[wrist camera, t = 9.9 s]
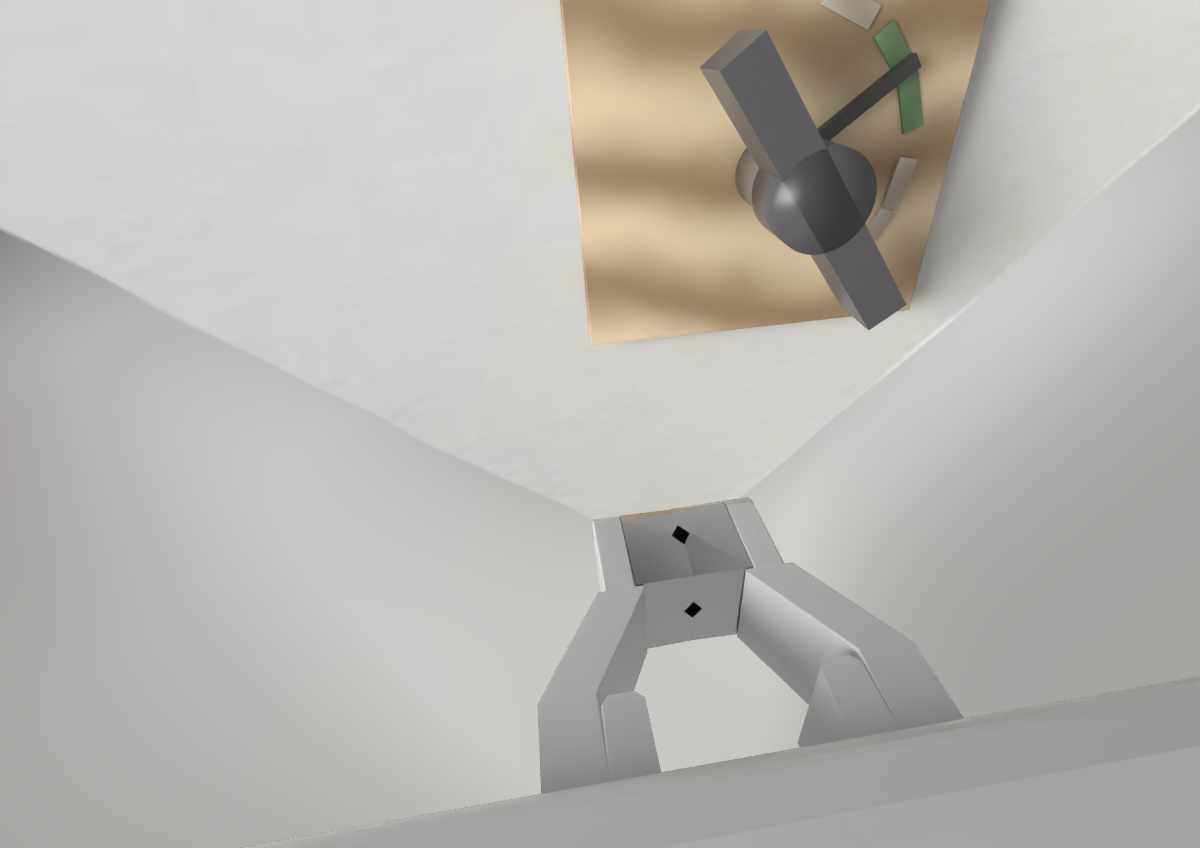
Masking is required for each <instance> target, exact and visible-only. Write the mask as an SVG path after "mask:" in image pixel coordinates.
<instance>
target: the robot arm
mask: <svg viewBox="0 0 1200 848" xmlns="http://www.w3.org/2000/svg"><path fill="white" fill-rule="evenodd" d="M592 526H593V536H594V545H595V555H596V563H597V572H598V580H599V588H600V592H598V593H596V594H595V596H594V598H593V599H592V601H591V603H590V605H589V607H588V609H587V611H586V613H585V615H584V617H583V619H582V621H581V622H580V624H579V626H578V628H577V630H576V632H575V634H574V636H573V638H572V640H571V642H570V644H569V646H568V647H567V649H566V651H565V653H564V655H563V657H562V659H561V661H560V663H559V665H558V666H557V669H556V670H555V672H554V674H553V676H552V678H551V680H550V682H549V684H548V686H547V687H546V690H545V691H544V693H543V695H542V697H541V699H540V701H539V703H538V725H539V751H540V772H541V774H540V776H541V794H538V795H533V796H528V797H522V798H516V799H510V800H505V801H499V802H493V803H488V804H483V805H477V806H471V807H466V808H460V809H454V810H449V811H443V812H438V813H432V814H427V815H421V816H415V817H410V818H405V819H399V820H393V821H387V822H382V823H376V824H371V825H365V826H359V827H354V828H348V829H343V830H337V831H331V832H326V833H320V834H315V835H309V836H303V837H298V838H292V839H287V840H281V841H276V842H270V843H264V844H259V845H254V846H248V847H242V848H1200V676H1199V677H1193V678H1188V679H1182V680H1177V681H1171V682H1165V683H1160V684H1154V685H1149V686H1143V687H1137V688H1132V689H1126V690H1121V691H1115V692H1109V693H1105V694H1098V695H1093V696H1087V697H1082V698H1076V699H1070V700H1065V701H1059V702H1054V703H1048V704H1043V705H1037V706H1031V707H1026V708H1020V709H1014V710H1009V711H1003V712H997V713H992V714H986V715H981V716H975V717H969V718H964V717H963V716H962V714H961V713H960V711H959V710H958V708H957V707H956V705H955V704H954V702H953V701H952V699H951V697H950V696H949V694H948V693H947V691H946V690H945V688H944V687H943V685H942V684H941V682H940V680H939V679H938V677H937V676H936V674H935V673H934V671H933V670H932V668H931V667H930V665H929V664H928V662H927V660H926V659H925V657H924V656H923V654H922V653H921V651H920V650H919V648H918V647H917V645H916V644H915V642H913V641H912V640H910V639H909V638H908V637H906V636H904V635H903V634H901V633H900V632H898V631H897V630H895V629H894V628H892V627H891V626H889V625H888V624H886V623H884V622H883V621H881V620H880V619H878V618H877V617H875V616H874V615H872V614H871V613H869V612H868V611H866V610H865V609H863V608H862V607H860V606H858V605H857V604H855V603H854V602H852V601H851V600H849V599H848V598H846V597H844V596H843V595H841V594H840V593H839V592H837V591H835V590H834V589H832V588H831V587H829V586H828V585H826V584H825V583H823V582H822V581H820V580H819V579H817V578H815V577H814V576H812V575H811V574H809V573H808V572H806V571H805V570H803V569H802V568H800V567H799V566H797V565H796V564H794V563H792V562H791V563H784V562H783V560H782V558H781V556H780V554H779V552H778V550H777V548H776V546H775V544H774V542H773V540H772V538H771V537H770V535H769V533H768V531H767V529H766V527H765V525H764V523H763V521H762V519H761V517H760V515H759V513H758V511H757V509H756V507H755V506H754V503H753V502H752V500H751V499H749V498H748V497H746V498H739V499H733V500H726V501H722V502H720V501H719V502H713V503H707V504H700V505H694V506H688V507H681V508H675V509H670V510H664V511H656V512H648V513H640V514H632V515H623V516H619V517H611V518H603V519H595V520H592ZM733 634H737V637H738V638H740V640H742V641H743V642H744V643H745V644H746V645H747V646H748V647H749V648H750V649H751V650H752V651H753V652H754V653H755V654H756V655H757V656H758V657H759V658H760V659H761V660H762V661H764V662H765V663H766V664H767V665H768V666H769V667H770V668H771V669H772V670H773V671H774V672H775V673H776V674H777V675H778V676H779V677H780V678H781V679H783V681H784V682H786V683H787V684H788V685H789V686H790V687H791V688H792V689H793V690H794V691H795V692H796V693H797V694H798V695H799V696H800V697H801V698H802V699H804V701H805V702H806V703H808V704H809V708H808V711H807V714H806V718H805V721H804V724H803V727H802V731H801V734H800V737H799V740H798V744H799V747H800V748H795V749H790V750H784V751H779V752H773V753H767V754H762V755H756V756H750V757H745V758H739V759H734V760H729V761H723V762H717V763H712V764H706V765H700V766H695V767H689V768H683V769H678V770H672V771H667V772H661V770H660V765H659V761H658V756H657V752H656V747H655V742H654V737H653V733H652V728H651V723H650V719H649V714H648V709H647V705H646V700H645V697H643V696H642V695H640V694H639V693H637V692H635V691H634V688H635V685H636V683H637V680H638V677H639V674H640V671H641V668H642V665H643V662H644V660H645V657H646V654H647V649H648V648H653V647H658V646H663V645H668V644H674V643H679V642H684V641H689V640H696V639H703V638H710V637H718V636H726V635H733Z"/></svg>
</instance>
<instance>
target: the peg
mask: <svg viewBox="0 0 1200 848" xmlns="http://www.w3.org/2000/svg"><path fill="white" fill-rule="evenodd" d="M921 67H922V66H921V63H920V61H919V58H918V55H917V53H909V54H908V55H907V56H906V57H905V58H903V59H902V60H901V61H900V62H898V63H897V64H896V65H895V66H894V67H892V68H891V69H890V70H889V71H887V72H886V73H885V74H884V75H883V76H881V77H880V78H879V79H878V80H876V81H875V82H874V83H873V84H871V85H870V86H869V87H868V88H867V89H865V90H864V91H863V92H862V93H860V94H859V95H858V96H857V97H856V98H854V99H853V100H852V101H851V102H849V103H848V104H847V105H846V106H845V107H843V108H842V109H841V110H840V111H838V112H837V113H836V114H835V115H833V116H832V117H831V118H830V119H829V120H827V121H826V122H825V123H824V124H822V125H821V126H820V127H819V128H818V129H817V128H816V126H815V124H814V122H813V120H812V118H811V116H810V114H809V112H808V110H807V108H806V106H805V104H804V102H803V100H802V99H801V97H800V95H799V93H798V91H797V89H796V87H795V85H794V83H793V81H792V79H791V77H790V75H789V73H788V71H787V69H786V67H785V65H784V63H783V61H782V59H781V57H780V55H779V53H778V51H777V49H776V48H775V46H774V44H773V42H772V40H771V38H770V36H769V34H768V32H767V30H740V31H739V32H738V33H736V34H735V35H734V36H733V37H732V38H731V39H730V40H729V41H728V42H727V43H726V44H724V45H723V46H722V47H721V48H720V49H719V50H718V51H717V52H716V53H715V54H713V55H712V56H711V57H710V58H709V59H708V60H707V61H706V62H705V63H704V64H703V65H701V66H700V67H699V68H700V69H701V71H702V73H703V74H704V76H705V78H706V80H707V81H708V83H709V85H710V86H711V88H712V90H713V91H714V93H715V95H716V96H717V98H718V100H719V101H720V103H721V105H722V106H723V108H724V110H725V112H726V113H727V115H728V117H729V118H730V120H731V122H732V123H733V125H734V127H735V128H736V130H737V132H738V133H739V135H740V137H741V139H742V140H743V142H744V144H745V145H746V147H747V148H746V149H745V151H744V152H743V153H742V155H741V157H740V159H739V161H738V164H737V168H736V173H735V181H736V187H737V190H738V192H739V194H740V196H741V197H742V198H743V199H744V200H745V201H746V202H747V203H748V204H750V205H751V206H752V207H753V210H754V213H755V215H756V217H757V219H758V220H759V222H760V223H761V224H762V225H763V226H764V227H765V228H766V229H767V230H769V231H770V232H771V233H772V234H773V235H775V236H776V237H777V238H778V239H780V240H781V241H782V242H783V243H785V244H786V245H787V246H788V247H790V248H791V249H793V250H794V251H796V252H799V253H802V254H807V255H811V257H812V258H813V260H814V262H815V263H816V265H817V267H818V268H819V270H820V272H821V273H822V275H823V277H824V279H825V280H826V282H827V284H828V285H829V287H830V289H831V290H832V292H833V294H834V295H835V297H836V299H837V300H838V302H839V304H840V306H841V307H842V308H844V309H845V310H846V311H847V312H848V313H849V314H851V315H852V316H853V317H854V318H855V319H856V320H857V321H859V322H860V323H861V324H862V325H863V326H864V327H866V328H867V329H868V330H870V329H871V328H873V327H874V326H876V325H877V324H879V323H880V322H882V321H883V320H885V319H886V318H888V317H889V316H891V315H892V314H894V313H895V312H896V311H898V310H899V309H901V308H902V307H904V306H905V305H906V303H905V301H904V299H903V297H902V295H901V293H900V291H899V289H898V287H897V285H896V283H895V281H894V279H893V277H892V275H891V273H890V271H889V269H888V267H887V265H886V263H885V261H884V259H883V257H882V256H881V254H880V252H879V250H878V248H877V246H876V244H875V242H874V240H873V238H872V236H871V234H870V232H869V230H868V228H867V226H866V224H865V223H866V221H867V220H868V218H869V216H870V214H871V212H872V209H873V206H874V203H875V199H876V194H877V181H876V175H875V172H874V169H873V167H872V165H871V163H870V162H869V160H868V159H867V158H866V157H865V156H864V155H863V154H861V153H860V152H858V151H856V150H854V149H851V148H849V147H846V146H843V145H840V144H837V143H834V142H832V141H830V140H831V139H832V138H833V137H835V136H836V135H837V134H838V133H840V132H841V131H842V130H843V129H845V128H846V127H847V126H848V125H850V124H851V123H852V122H853V121H855V120H856V119H857V118H858V117H860V116H861V115H862V114H863V113H865V112H866V111H867V110H868V109H870V108H871V107H872V106H873V105H875V104H876V103H877V102H878V101H880V100H881V99H882V98H883V97H885V96H886V95H887V94H888V93H890V92H891V91H892V90H893V89H895V88H896V87H897V86H898V85H900V84H901V83H902V82H903V81H904V80H906V79H907V78H908V77H909V76H911V75H912V74H913V73H914V72H916V71H917V70H918V69H919V68H921Z"/></svg>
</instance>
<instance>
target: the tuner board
mask: <svg viewBox="0 0 1200 848" xmlns="http://www.w3.org/2000/svg"><path fill="white" fill-rule="evenodd" d="M560 4H561V16H562V27H563V39H564V50H565V62H566V73H567V85H568V96H569V107H570V119H571V130H572V142H573V153H574V165H575V176H576V188H577V199H578V211H579V222H580V233H581V245H582V256H583V268H584V279H585V291H586V302H587V314H588V325H589V333H590V338H591V343H592V345H600V344H609V343H618V342H626V341H635V340H644V339H653V338H662V337H671V336H680V335H689V334H698V333H707V332H716V331H724V330H733V329H742V328H751V327H760V326H769V325H778V324H787V323H796V322H805V321H813V320H822V319H831V318H840V317H849V316H852V315H851V314H849V313H848V312H847V311H846V310H845V309H844V308H842V307H841V306H840V304H839V302H838V300H837V299H836V297H835V295H834V294H833V292H832V290H831V289H830V287H829V285H828V284H827V282H826V280H825V279H824V277H823V275H822V273H821V272H820V270H819V268H818V267H817V265H816V263H815V262H814V260H813V258H812V257H811V255H807V254H802V253H799V252H796V251H794V250H793V249H791V248H790V247H788V246H787V245H786V244H785V243H783V242H782V241H781V240H780V239H778V238H777V237H776V236H775V235H773V234H772V233H771V232H770V231H769V230H767V229H766V228H765V227H764V226H763V225H762V224H761V223H760V222H759V220H758V219H757V217H756V215H755V213H754V210H753V207H752V206H751V205H750V204H748V203H747V202H746V201H745V200H744V199H743V198H742V197H741V196H740V194H739V192H738V190H737V187H736V181H735V173H736V168H737V164H738V161H739V159H740V157H741V155H742V153H743V152H744V151H745V149H746V148H747V147H746V145H745V144H744V142H743V140H742V139H741V137H740V135H739V133H738V132H737V130H736V128H735V127H734V125H733V123H732V122H731V120H730V118H729V117H728V115H727V113H726V112H725V110H724V108H723V106H722V105H721V103H720V101H719V100H718V98H717V96H716V95H715V93H714V91H713V90H712V88H711V86H710V85H709V83H708V81H707V80H706V78H705V76H704V74H703V73H702V71H701V69H700V68H699V67H700V66H701V65H703V64H704V63H705V62H706V61H707V60H708V59H709V58H710V57H711V56H712V55H713V54H715V53H716V52H717V51H718V50H719V49H720V48H721V47H722V46H723V45H724V44H726V43H727V42H728V41H729V40H730V39H731V38H732V37H733V36H734V35H735V34H736V33H738V32H739V31H740V30H767V32H768V34H769V36H770V38H771V40H772V42H773V44H774V46H775V48H776V49H777V51H778V53H779V55H780V57H781V59H782V61H783V63H784V65H785V67H786V69H787V71H788V73H789V75H790V77H791V79H792V81H793V83H794V85H795V87H796V89H797V91H798V93H799V95H800V97H801V99H802V100H803V102H804V104H805V106H806V108H807V110H808V112H809V114H810V116H811V118H812V120H813V122H814V124H815V126H816V128H817V129H818V128H819V127H820V126H821V125H822V124H824V123H825V122H826V121H827V120H829V119H830V118H831V117H832V116H833V115H835V114H836V113H837V112H838V111H840V110H841V109H842V108H843V107H845V106H846V105H847V104H848V103H849V102H851V101H852V100H853V99H854V98H856V97H857V96H858V95H859V94H860V93H862V92H863V91H864V90H865V89H867V88H868V87H869V86H870V85H871V84H873V83H874V82H875V81H876V80H878V79H879V78H880V77H881V76H883V75H884V74H885V73H886V72H887V71H889V70H890V69H891V68H892V67H894V66H895V65H896V64H897V63H898V62H900V61H901V60H902V59H903V58H905V57H906V56H907V55H908V54H909V53H917V55H918V58H919V61H920V63H921V66H922V67H921V68H919V69H918V70H917V71H916V72H914V73H913V74H912V75H911V76H909V77H908V78H907V79H906V80H904V81H903V82H902V83H901V84H900V85H898V86H897V87H896V88H895V89H893V90H892V91H891V92H890V93H888V94H887V95H886V96H885V97H883V98H882V99H881V100H880V101H878V102H877V103H876V104H875V105H873V106H872V107H871V108H870V109H868V110H867V111H866V112H865V113H863V114H862V115H861V116H860V117H858V118H857V119H856V120H855V121H853V122H852V123H851V124H850V125H848V126H847V127H846V128H845V129H843V130H842V131H841V132H840V133H838V134H837V135H836V136H835V137H833V138H832V139H831V140H830V141H832V142H834V143H837V144H840V145H843V146H846V147H849V148H851V149H854V150H856V151H858V152H860V153H861V154H863V155H864V156H865V157H866V158H867V159H868V160H869V162H870V163H871V165H872V167H873V169H874V172H875V175H876V181H877V194H876V199H875V203H874V206H873V209H872V212H871V214H870V216H869V218H868V220H867V221H866V223H865V224H866V226H867V228H868V230H869V232H870V234H871V236H872V238H873V240H874V242H875V244H876V246H877V248H878V250H879V252H880V254H881V256H882V257H883V259H884V261H885V263H886V265H887V267H888V269H889V271H890V273H891V275H892V277H893V279H894V281H895V283H896V285H897V287H898V289H899V291H900V293H901V295H902V297H903V299H904V301H905V303H906V305H905V306H904V307H902V308H901V309H899V310H898V311H903V310H909V308H910V304H911V301H912V297H913V293H914V289H915V285H916V282H917V278H918V274H919V270H920V266H921V263H922V259H923V255H924V251H925V247H926V244H927V240H928V236H929V232H930V228H931V224H932V221H933V217H934V213H935V209H936V205H937V202H938V198H939V194H940V190H941V186H942V183H943V179H944V175H945V171H946V167H947V164H948V160H949V156H950V152H951V148H952V144H953V141H954V137H955V133H956V129H957V125H958V122H959V118H960V114H961V110H962V106H963V103H964V99H965V95H966V91H967V87H968V84H969V80H970V76H971V72H972V68H973V64H974V61H975V57H976V53H977V49H978V45H979V42H980V38H981V34H982V30H983V26H984V23H985V19H986V15H987V11H988V7H989V4H990V0H560Z"/></svg>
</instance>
